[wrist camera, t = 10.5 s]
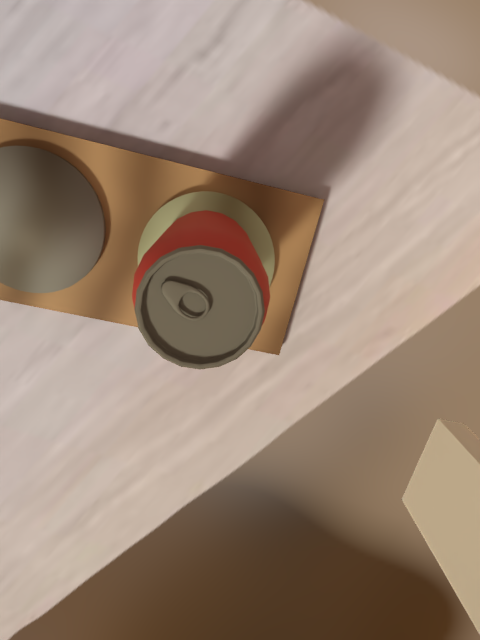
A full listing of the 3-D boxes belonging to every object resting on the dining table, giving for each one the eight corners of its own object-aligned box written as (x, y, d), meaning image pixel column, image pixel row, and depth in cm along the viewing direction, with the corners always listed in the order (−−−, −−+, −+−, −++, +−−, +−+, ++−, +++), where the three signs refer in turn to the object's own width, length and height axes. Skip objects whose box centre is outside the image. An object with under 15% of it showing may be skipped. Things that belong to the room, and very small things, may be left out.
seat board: (-67, 281, 30) (-82, 286, 29) (-67, 101, 26) (-84, 97, 25) (277, 350, 33) (280, 358, 32) (320, 199, 30) (326, 200, 28)
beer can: (195, 188, 27) (181, 198, 16) (272, 249, 29) (308, 296, 18) (140, 267, 29) (91, 326, 18) (215, 320, 31) (215, 405, 19)
